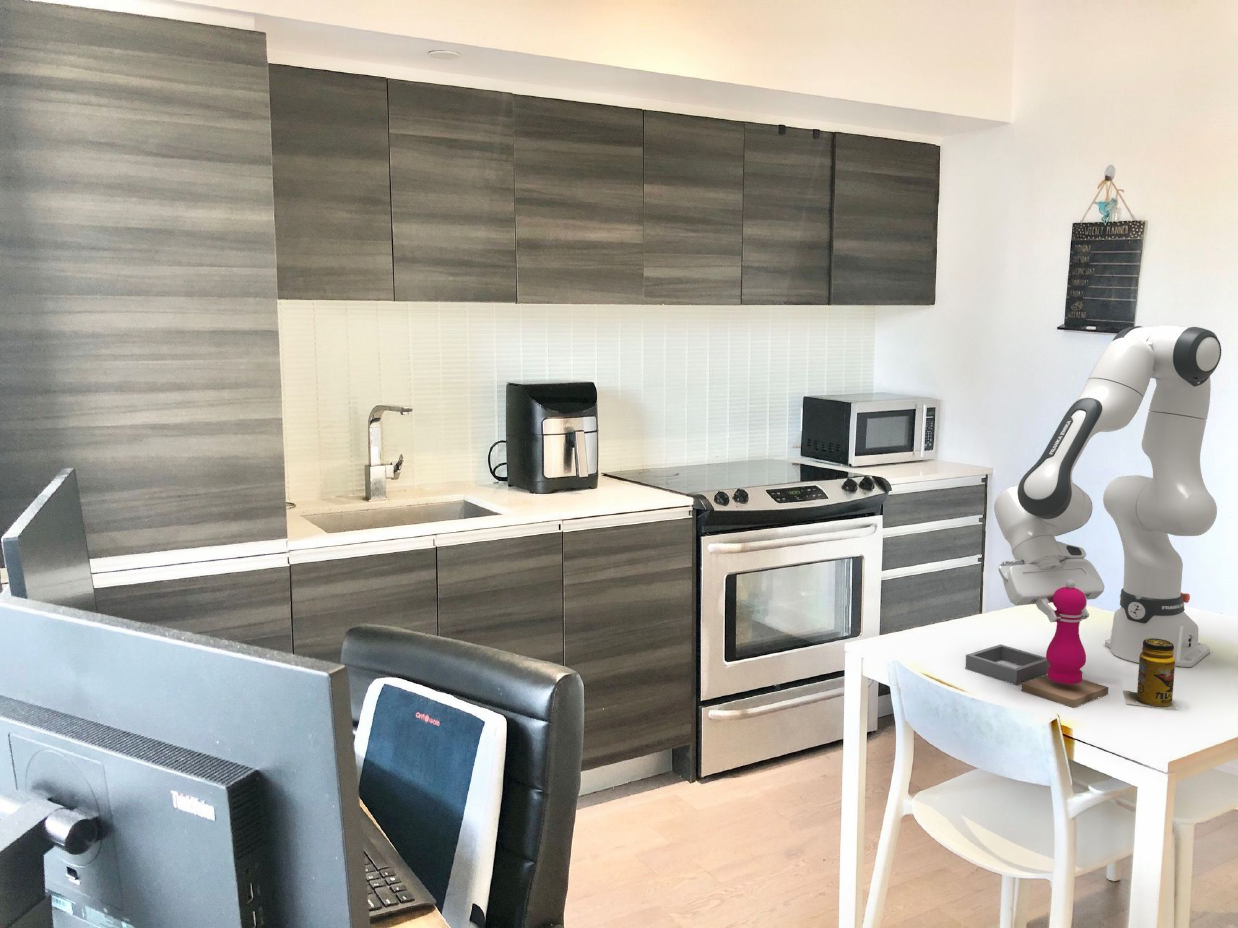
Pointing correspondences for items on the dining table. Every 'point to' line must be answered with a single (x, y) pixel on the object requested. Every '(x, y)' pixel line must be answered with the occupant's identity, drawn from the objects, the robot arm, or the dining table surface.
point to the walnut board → (1064, 691)
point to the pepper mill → (1067, 636)
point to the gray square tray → (986, 665)
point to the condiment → (1154, 676)
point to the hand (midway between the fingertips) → (1070, 619)
